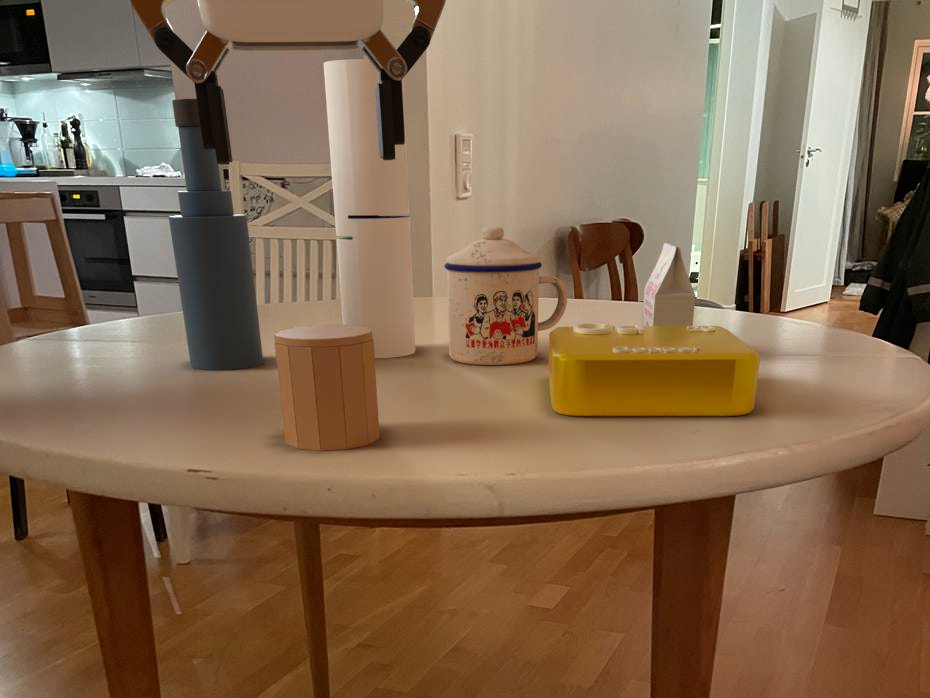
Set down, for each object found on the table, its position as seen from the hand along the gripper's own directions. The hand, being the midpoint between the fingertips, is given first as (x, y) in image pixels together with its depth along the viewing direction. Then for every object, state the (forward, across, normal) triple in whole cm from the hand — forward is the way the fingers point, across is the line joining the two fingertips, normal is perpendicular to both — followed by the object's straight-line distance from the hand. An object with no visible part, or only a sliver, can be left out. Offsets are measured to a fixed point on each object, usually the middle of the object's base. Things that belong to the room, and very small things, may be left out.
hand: (307, 161), depth 55 cm
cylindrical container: (+17, -6, -34) cm, 39 cm away
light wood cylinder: (+17, 0, 0) cm, 17 cm away
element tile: (+17, -25, -8) cm, 31 cm away
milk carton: (+17, -33, -25) cm, 45 cm away
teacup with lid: (+17, -18, -28) cm, 38 cm away
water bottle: (+16, +9, -31) cm, 37 cm away
